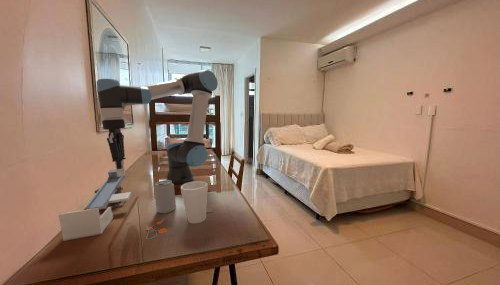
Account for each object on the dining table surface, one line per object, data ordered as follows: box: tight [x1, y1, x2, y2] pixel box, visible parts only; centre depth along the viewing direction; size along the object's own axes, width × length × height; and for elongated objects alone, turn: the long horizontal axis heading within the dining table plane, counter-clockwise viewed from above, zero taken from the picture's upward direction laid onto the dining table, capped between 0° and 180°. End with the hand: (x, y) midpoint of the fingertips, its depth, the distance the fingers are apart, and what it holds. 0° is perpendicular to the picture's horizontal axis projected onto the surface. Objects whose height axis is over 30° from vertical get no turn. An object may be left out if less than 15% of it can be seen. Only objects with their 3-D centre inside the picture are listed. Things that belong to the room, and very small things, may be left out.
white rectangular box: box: [58, 207, 114, 242], centre depth 72 cm, size 12×11×9 cm
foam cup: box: [180, 180, 209, 224], centre depth 75 cm, size 10×9×13 cm
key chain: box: [145, 217, 168, 240], centre depth 71 cm, size 13×7×1 cm, turn 22°
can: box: [153, 179, 177, 215], centre depth 84 cm, size 8×8×12 cm
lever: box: [86, 169, 132, 210], centre depth 92 cm, size 28×13×4 cm, turn 17°
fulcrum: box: [94, 185, 127, 211], centre depth 92 cm, size 8×11×8 cm
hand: (121, 175), depth 86 cm, fingers closed
